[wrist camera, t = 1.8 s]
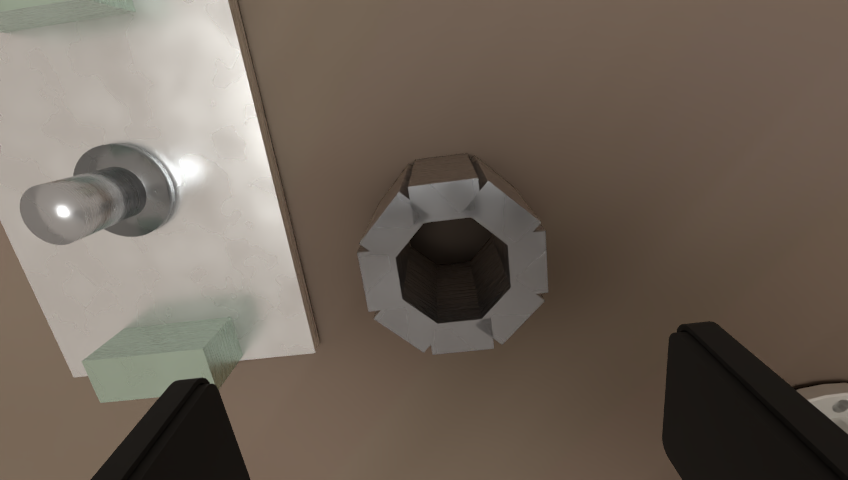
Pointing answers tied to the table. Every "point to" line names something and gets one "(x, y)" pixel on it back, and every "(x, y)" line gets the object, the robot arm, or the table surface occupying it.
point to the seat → (146, 191)
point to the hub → (459, 282)
